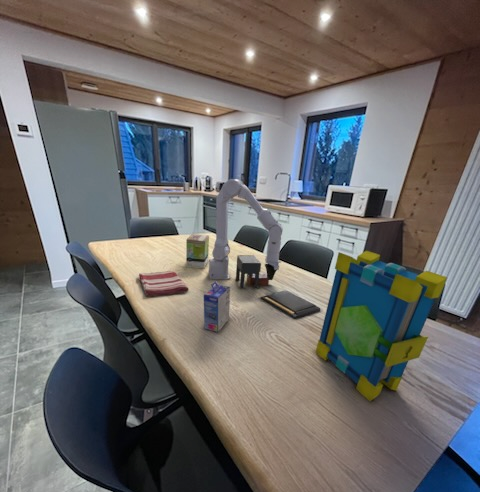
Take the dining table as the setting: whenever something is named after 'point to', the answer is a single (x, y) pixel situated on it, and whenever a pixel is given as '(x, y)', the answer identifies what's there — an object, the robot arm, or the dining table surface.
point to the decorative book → (376, 320)
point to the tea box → (197, 251)
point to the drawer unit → (247, 268)
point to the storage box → (262, 279)
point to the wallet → (290, 304)
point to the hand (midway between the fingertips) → (269, 279)
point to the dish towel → (162, 283)
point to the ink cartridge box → (216, 307)
